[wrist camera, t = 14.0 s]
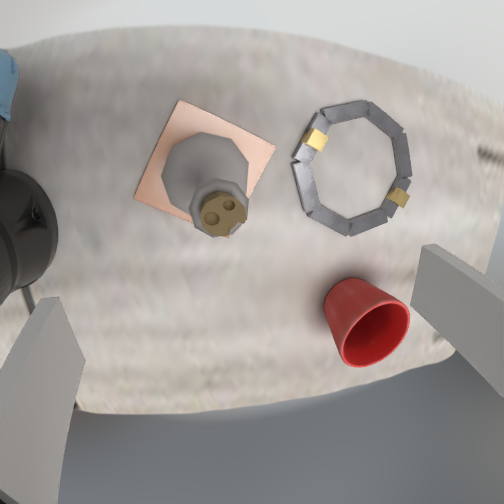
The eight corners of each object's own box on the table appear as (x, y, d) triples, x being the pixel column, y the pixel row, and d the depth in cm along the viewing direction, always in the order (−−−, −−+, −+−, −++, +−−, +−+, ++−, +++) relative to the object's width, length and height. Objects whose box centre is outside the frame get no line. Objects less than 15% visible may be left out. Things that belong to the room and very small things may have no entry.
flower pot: (299, 303, 44) (326, 346, 35) (357, 253, 43) (395, 285, 34) (334, 339, 49) (361, 378, 40) (385, 295, 47) (419, 328, 39)
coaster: (134, 197, 33) (133, 198, 33) (179, 100, 30) (179, 99, 30) (227, 235, 38) (228, 238, 37) (274, 146, 35) (276, 146, 34)
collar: (270, 196, 37) (275, 201, 35) (334, 77, 32) (343, 76, 30) (369, 248, 43) (377, 254, 41) (422, 149, 38) (432, 151, 36)
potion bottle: (258, 167, 34) (327, 211, 18) (205, 224, 36) (226, 313, 20) (201, 114, 31) (221, 103, 15) (146, 175, 32) (111, 228, 16)
